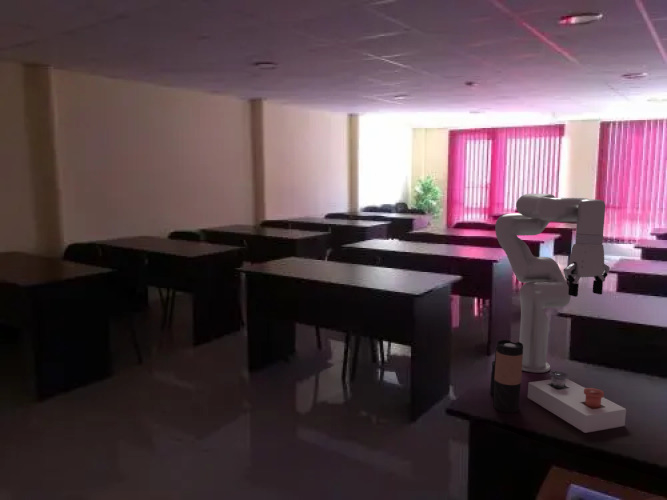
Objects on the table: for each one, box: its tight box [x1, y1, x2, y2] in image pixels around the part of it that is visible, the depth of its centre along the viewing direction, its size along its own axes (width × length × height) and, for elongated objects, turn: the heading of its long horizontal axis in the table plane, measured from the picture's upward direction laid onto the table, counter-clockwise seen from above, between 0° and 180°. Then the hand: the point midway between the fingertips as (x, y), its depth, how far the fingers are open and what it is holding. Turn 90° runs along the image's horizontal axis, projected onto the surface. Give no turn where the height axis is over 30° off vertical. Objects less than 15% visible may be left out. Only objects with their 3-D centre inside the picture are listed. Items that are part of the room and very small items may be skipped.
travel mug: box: [493, 339, 523, 413], centre depth 162 cm, size 8×8×20 cm
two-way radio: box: [489, 346, 497, 395], centre depth 173 cm, size 6×4×15 cm
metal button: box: [549, 370, 569, 390], centre depth 167 cm, size 5×5×4 cm
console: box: [527, 378, 627, 434], centre depth 161 cm, size 24×14×5 cm, turn 19°
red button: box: [584, 387, 605, 409], centre depth 154 cm, size 5×5×4 cm
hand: (585, 294), depth 167 cm, fingers open, 9 cm apart
